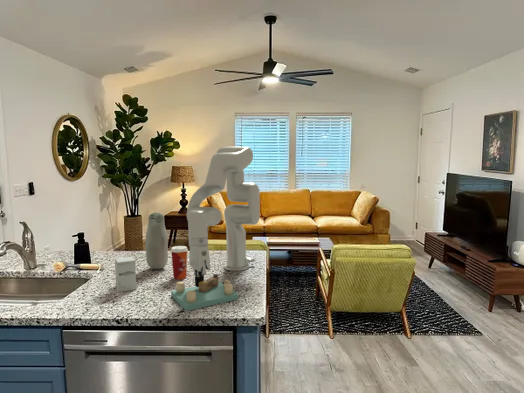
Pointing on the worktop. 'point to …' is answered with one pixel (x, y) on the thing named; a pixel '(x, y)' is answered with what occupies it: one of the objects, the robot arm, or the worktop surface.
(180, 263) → the paper cup
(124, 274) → the supplement box
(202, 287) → the folding leg
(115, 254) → the worktop surface
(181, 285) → the stool seat
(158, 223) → the grey ceramic bottle
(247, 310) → the worktop surface
